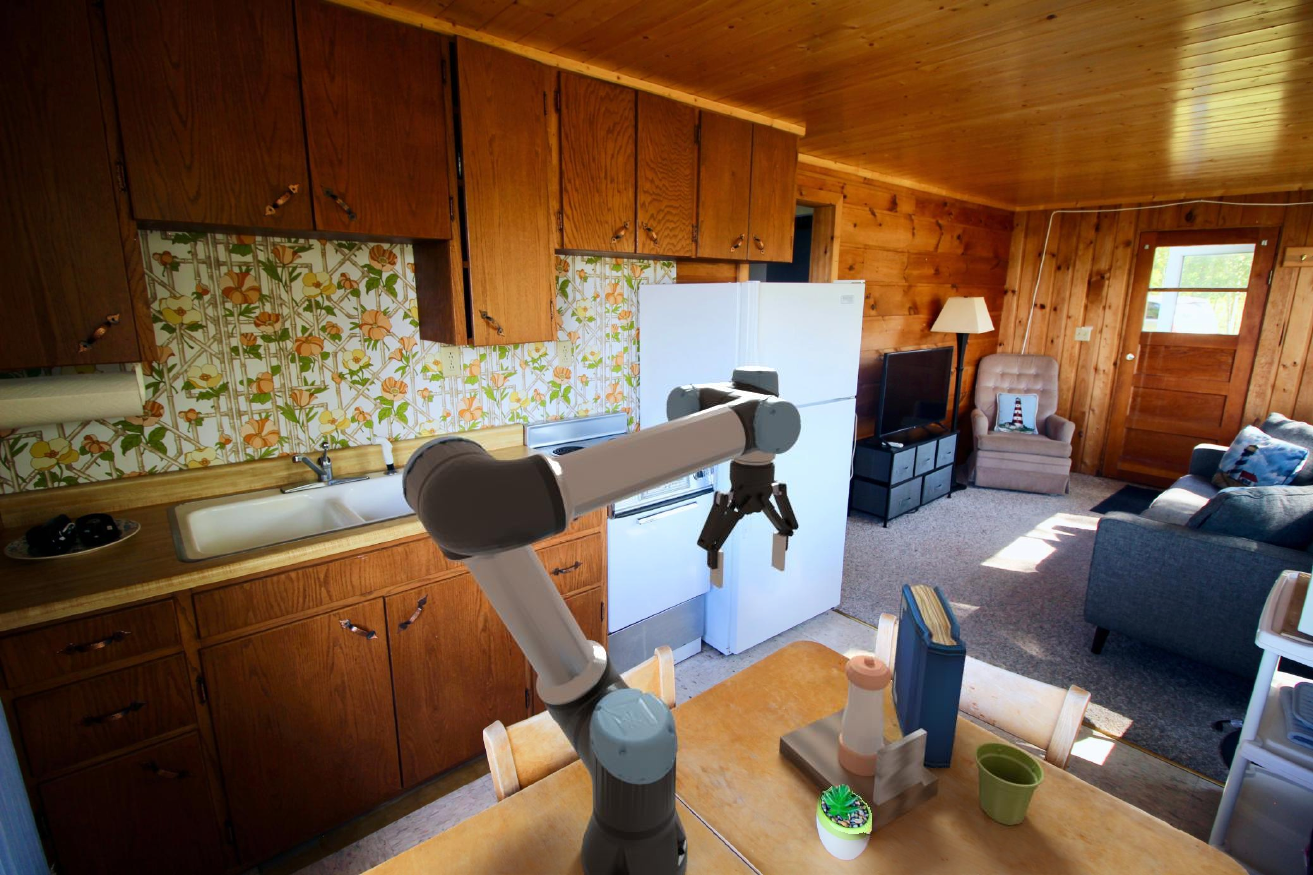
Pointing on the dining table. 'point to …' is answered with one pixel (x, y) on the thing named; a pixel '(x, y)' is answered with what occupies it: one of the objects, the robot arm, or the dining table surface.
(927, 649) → the book
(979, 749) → the plant pot
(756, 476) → the robot arm
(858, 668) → the pepper shaker
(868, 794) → the grey brown wooden stand
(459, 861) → the dining table surface
